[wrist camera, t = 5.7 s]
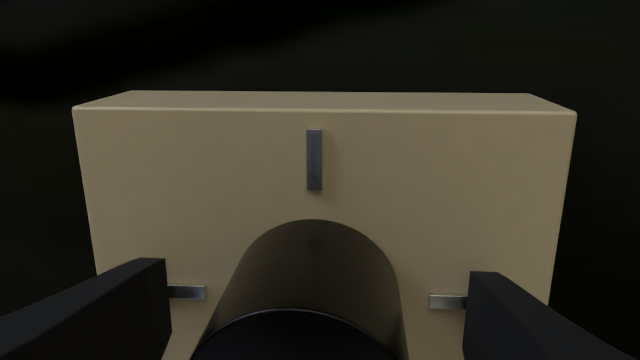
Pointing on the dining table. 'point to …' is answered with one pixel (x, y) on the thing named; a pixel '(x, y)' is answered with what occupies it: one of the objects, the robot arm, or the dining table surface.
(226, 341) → the knob
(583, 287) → the dining table surface
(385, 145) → the panel
